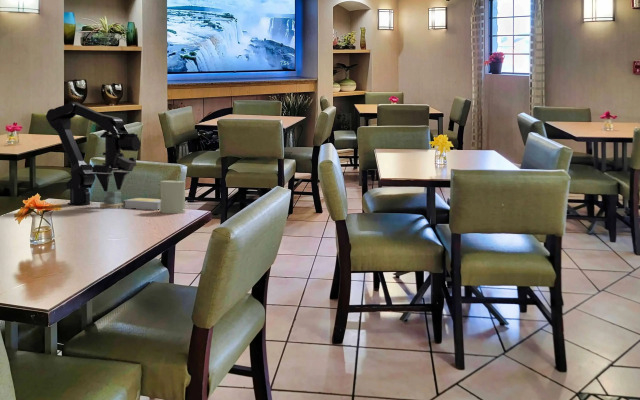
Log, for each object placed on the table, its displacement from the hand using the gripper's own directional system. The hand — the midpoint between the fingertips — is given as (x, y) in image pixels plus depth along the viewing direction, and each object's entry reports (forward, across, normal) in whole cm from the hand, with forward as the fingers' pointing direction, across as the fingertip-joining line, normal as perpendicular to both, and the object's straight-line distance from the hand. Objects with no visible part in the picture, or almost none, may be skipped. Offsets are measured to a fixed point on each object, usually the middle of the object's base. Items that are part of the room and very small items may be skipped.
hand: (112, 190), depth 229 cm
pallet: (+6, 0, 0) cm, 6 cm away
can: (+6, -2, -26) cm, 27 cm away
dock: (+6, +5, -12) cm, 15 cm away
